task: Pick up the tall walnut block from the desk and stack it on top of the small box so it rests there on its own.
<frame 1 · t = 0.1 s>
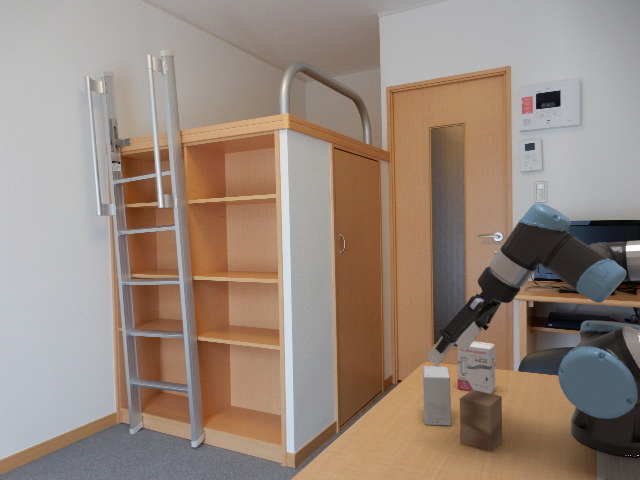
hand: (447, 354, 100), 15 cm above the table, tool tilted 35°, fingers open, 13 cm apart
ink box: (476, 390, 121), on the table
small box: (436, 419, 104), on the table
walnut block: (481, 442, 93), on the table
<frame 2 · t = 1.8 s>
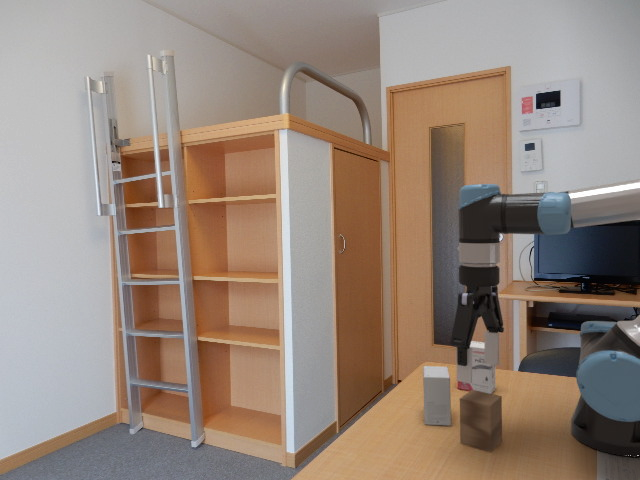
hand: (478, 372, 92), 14 cm above the table, tool pointing down, fingers open, 13 cm apart
nothing on the table moved.
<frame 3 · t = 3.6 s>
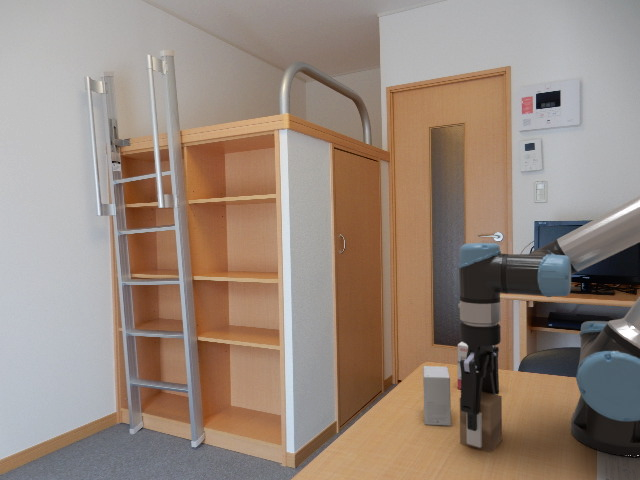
hand: (481, 438, 93), 1 cm above the table, tool pointing down, fingers closed on walnut block, 6 cm apart
walnut block: (481, 441, 93), on the table, touching gripper
everything else where it was.
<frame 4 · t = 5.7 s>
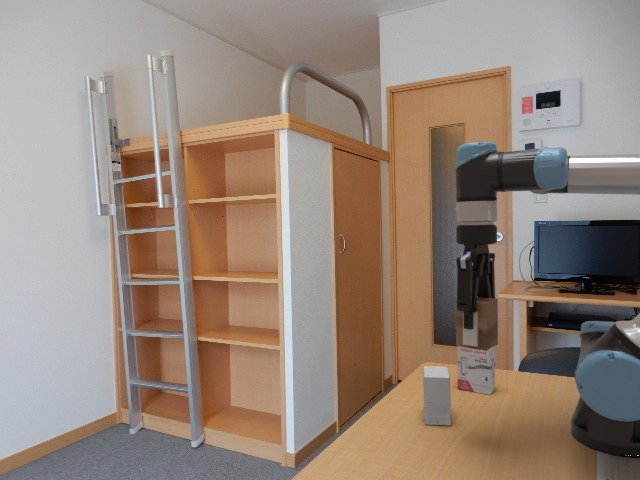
hand: (477, 341, 92), 20 cm above the table, tool pointing down, fingers closed on walnut block, 6 cm apart
walnut block: (477, 345, 93), point 19 cm above the table, touching gripper
everything else where it was.
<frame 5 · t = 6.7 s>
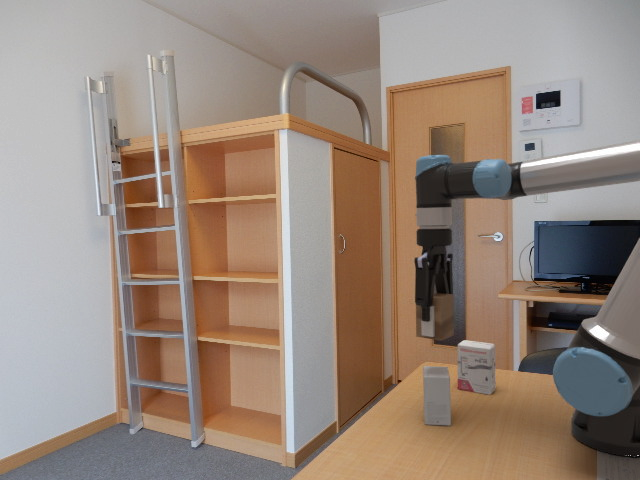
hand: (435, 332, 104), 19 cm above the table, tool pointing down, fingers closed on walnut block, 6 cm apart
walnut block: (435, 335, 104), point 18 cm above the table, touching gripper
everything else where it was.
when the fingers open (14 cm above the table, at t = 7.7 s): walnut block drops 3 cm, resting on small box.
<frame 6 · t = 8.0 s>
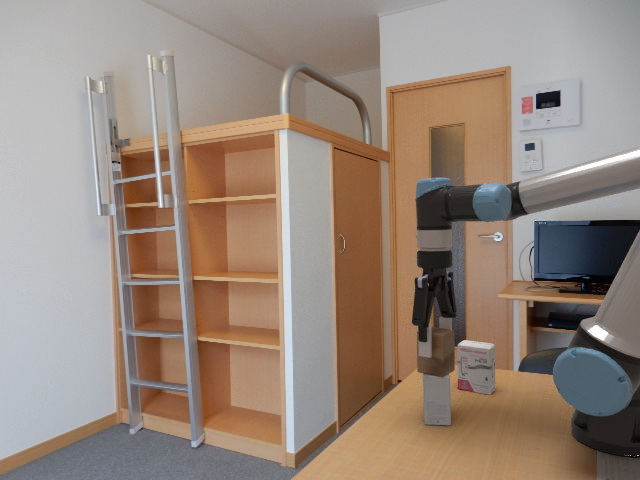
hand: (435, 351, 104), 15 cm above the table, tool pointing down, fingers open, 9 cm apart
small box: (436, 418, 104), on the table, touching walnut block
walnut block: (436, 371, 104), point 10 cm above the table, touching small box
everything else where it was.
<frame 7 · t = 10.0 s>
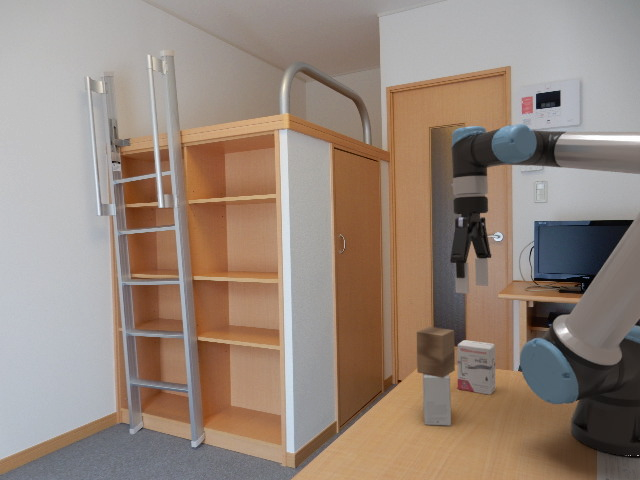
hand: (472, 289, 108), 28 cm above the table, tool pointing down, fingers open, 13 cm apart
nothing on the table moved.
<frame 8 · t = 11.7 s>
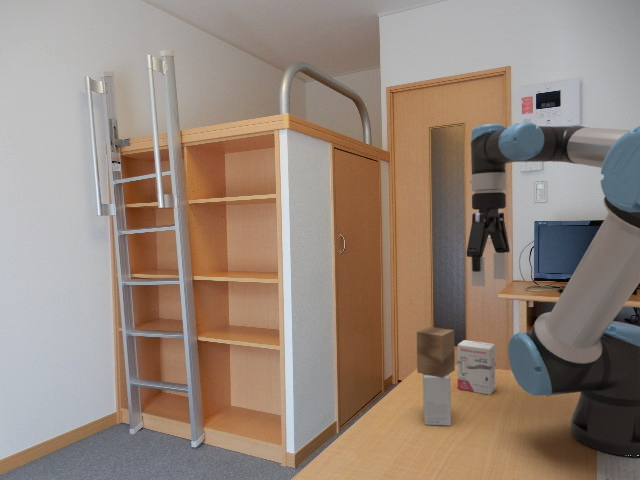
hand: (489, 282, 111), 29 cm above the table, tool pointing down, fingers open, 13 cm apart
nothing on the table moved.
at the end: walnut block inside the target area on the small box (0.0 cm from its centre), point 10.7 cm above the small box's base; walnut block tilted 0°; the gripper is holding nothing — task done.
